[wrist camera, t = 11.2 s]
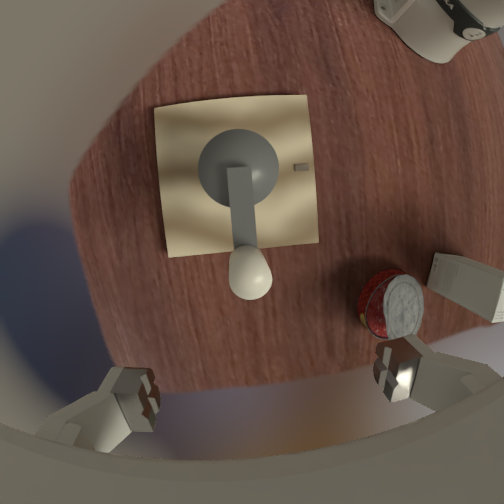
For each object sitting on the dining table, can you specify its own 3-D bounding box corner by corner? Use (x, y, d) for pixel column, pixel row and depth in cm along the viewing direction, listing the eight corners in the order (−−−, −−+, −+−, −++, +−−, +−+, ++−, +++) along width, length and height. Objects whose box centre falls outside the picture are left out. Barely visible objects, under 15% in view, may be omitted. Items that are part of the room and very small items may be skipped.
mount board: (157, 111, 31) (140, 95, 24) (303, 98, 32) (319, 80, 25) (171, 254, 35) (157, 270, 28) (315, 240, 36) (333, 252, 29)
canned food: (350, 275, 43) (373, 260, 33) (406, 273, 42) (438, 259, 32) (351, 349, 40) (376, 354, 30) (409, 343, 39) (443, 345, 30)
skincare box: (425, 287, 39) (488, 326, 24) (434, 249, 38) (503, 277, 23) (458, 289, 40) (517, 323, 25) (466, 255, 38) (530, 281, 24)
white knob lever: (272, 131, 26) (288, 109, 18) (281, 264, 29) (300, 294, 21) (197, 137, 25) (184, 117, 17) (210, 271, 28) (203, 304, 20)
